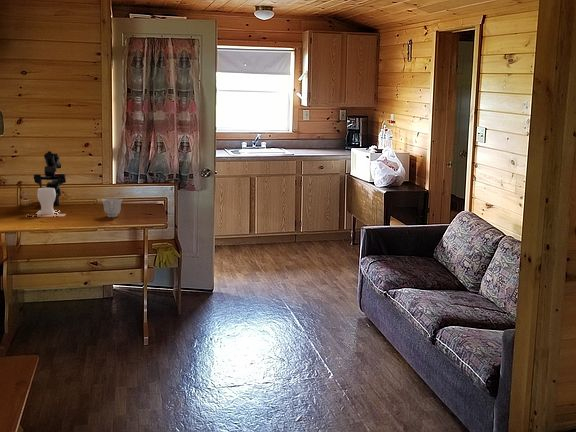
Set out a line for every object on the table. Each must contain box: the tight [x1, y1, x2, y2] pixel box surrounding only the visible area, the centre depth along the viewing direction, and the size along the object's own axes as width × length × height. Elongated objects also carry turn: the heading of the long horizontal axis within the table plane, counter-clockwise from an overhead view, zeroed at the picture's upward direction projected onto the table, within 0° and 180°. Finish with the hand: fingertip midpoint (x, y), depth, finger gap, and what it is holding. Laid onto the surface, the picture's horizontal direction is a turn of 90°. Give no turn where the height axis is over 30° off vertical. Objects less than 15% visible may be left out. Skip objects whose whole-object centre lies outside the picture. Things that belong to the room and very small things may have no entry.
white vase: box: [36, 187, 56, 214], centre depth 425 cm, size 11×11×15 cm
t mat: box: [25, 209, 67, 218], centre depth 427 cm, size 21×22×1 cm
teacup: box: [101, 197, 123, 218], centre depth 419 cm, size 12×15×10 cm
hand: (48, 189), depth 439 cm, fingers open, 9 cm apart
